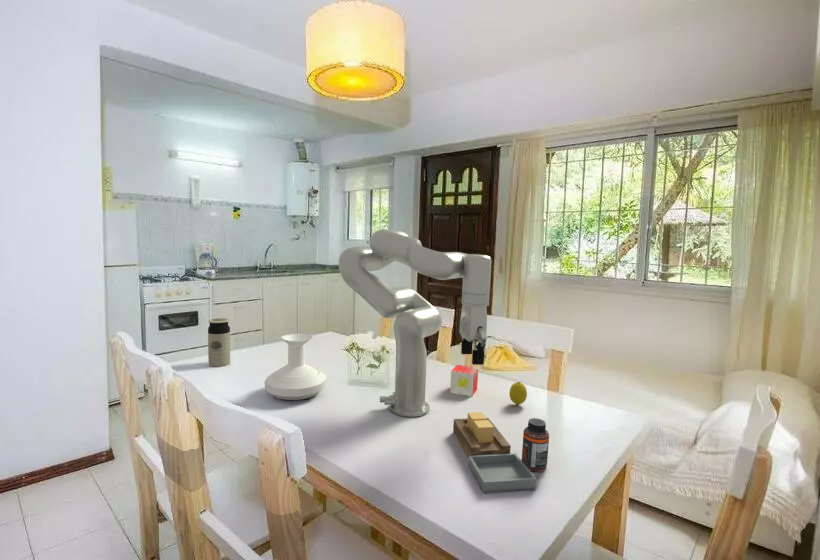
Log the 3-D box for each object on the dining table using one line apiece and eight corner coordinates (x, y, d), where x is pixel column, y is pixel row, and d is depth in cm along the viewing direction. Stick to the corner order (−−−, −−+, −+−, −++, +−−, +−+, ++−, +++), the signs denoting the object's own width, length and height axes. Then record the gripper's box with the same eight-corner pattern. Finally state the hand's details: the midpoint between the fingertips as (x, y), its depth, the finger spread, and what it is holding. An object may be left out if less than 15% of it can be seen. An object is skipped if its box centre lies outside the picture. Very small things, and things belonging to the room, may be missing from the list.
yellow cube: (471, 433, 112) (472, 419, 112) (467, 426, 116) (467, 412, 116) (486, 433, 113) (487, 418, 113) (481, 426, 117) (482, 412, 117)
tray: (483, 493, 92) (483, 482, 91) (467, 465, 102) (468, 455, 102) (535, 489, 94) (536, 478, 93) (515, 462, 104) (515, 453, 104)
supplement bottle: (517, 459, 106) (520, 415, 105) (541, 459, 106) (544, 415, 105) (526, 473, 100) (529, 426, 99) (550, 472, 101) (554, 426, 99)
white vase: (323, 381, 156) (323, 329, 154) (329, 402, 137) (330, 343, 135) (265, 385, 150) (265, 331, 148) (264, 407, 131) (264, 346, 129)
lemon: (526, 409, 137) (528, 385, 136) (508, 407, 138) (510, 383, 137) (525, 403, 142) (527, 379, 142) (508, 401, 144) (510, 378, 143)
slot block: (470, 463, 103) (471, 447, 103) (453, 432, 119) (453, 418, 119) (509, 461, 105) (510, 445, 105) (487, 431, 121) (488, 417, 120)
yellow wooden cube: (477, 442, 108) (478, 427, 107) (472, 435, 111) (473, 420, 111) (492, 442, 108) (493, 427, 108) (487, 434, 112) (488, 420, 112)
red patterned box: (450, 392, 149) (451, 371, 148) (455, 385, 157) (456, 364, 156) (472, 396, 147) (473, 374, 146) (477, 389, 154) (478, 367, 153)
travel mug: (216, 360, 176) (215, 317, 174) (234, 361, 175) (233, 318, 173) (204, 366, 168) (203, 321, 166) (223, 367, 167) (222, 322, 165)
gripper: (453, 294, 126) (450, 350, 128) (472, 304, 109) (468, 369, 111) (477, 294, 128) (474, 350, 130) (500, 304, 111) (496, 368, 113)
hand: (471, 358), depth 120 cm, fingers open, 9 cm apart
